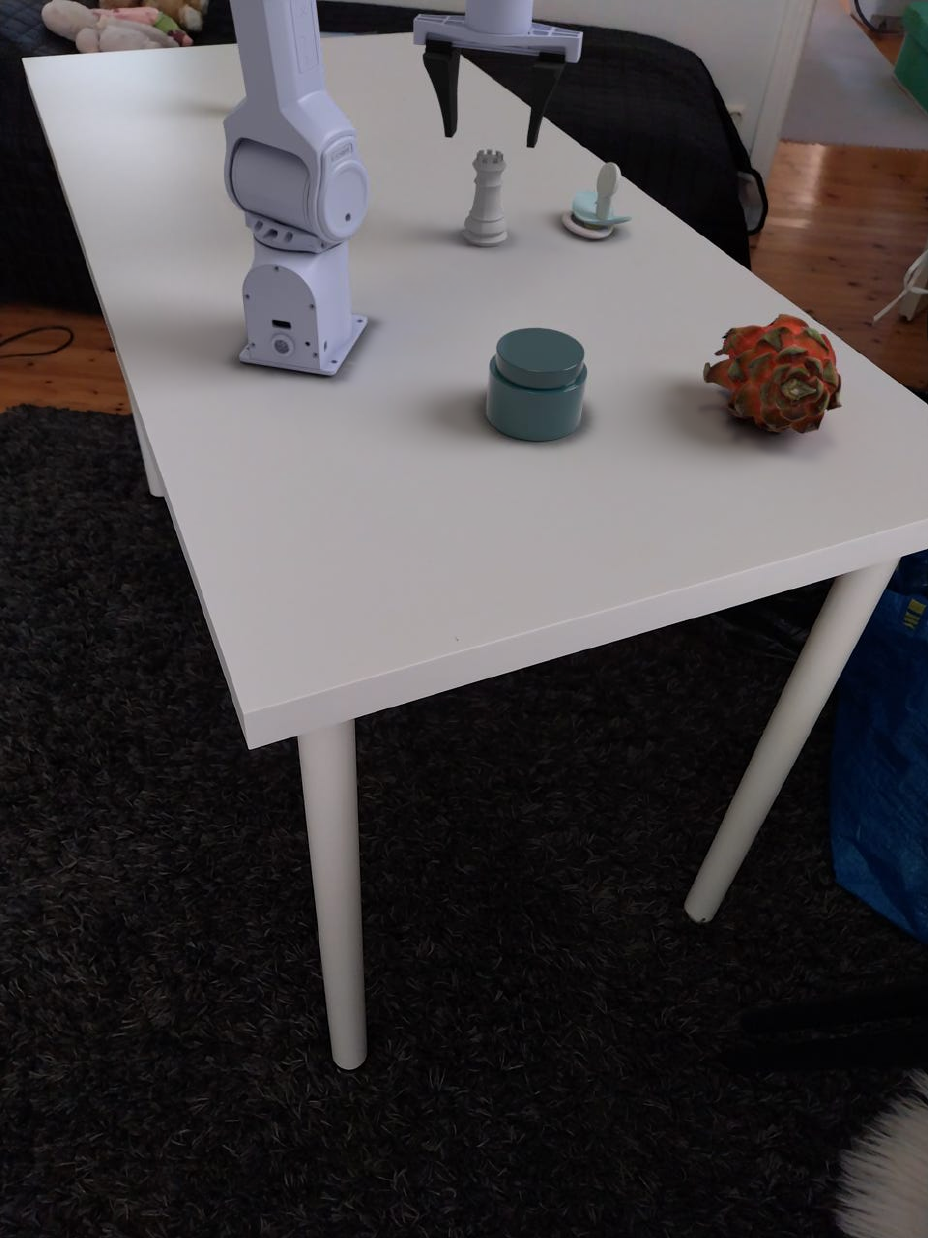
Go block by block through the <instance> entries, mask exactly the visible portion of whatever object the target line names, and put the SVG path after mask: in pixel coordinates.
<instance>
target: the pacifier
mask: <svg viewBox="0 0 928 1238" xmlns="http://www.w3.org/2000/svg"><path fill="white" fill-rule="evenodd" d="M596 179H597V180H596V191H594V190H591V189H590V190H583V191H580V192H579V193H577V194H576V195H575V196H574V197H573V200H572V203H571V209H572V210H570V211H567V212H565V213H563V215H562V217H561V221H562V223H563V225H564V226H565V227H566V228H567V229H568V230H569V231H570V232H573V233H574V234H576V235H578V236H581V237H584V238H589V239H603V238H606V237H608V236H609V235H610V234H611V233H612V232H613V229H614V225H620V224H625V223H627V222H630V221H633V216H631V215H630V216H628V215H627V216H626V215H615V214H614V208H613V206H612V205H613V198H614V197H613V196H614V195H615V193H616V192H617V191H618V189H619V188H620V185H621V181H622V173H621V169H620V167H619V166H618V165H617V164H616V163H614V162H611V161H609V162H606V163H605V164H604V165H602V166H601V168H600V171H599V173H598V175H597V178H596ZM575 219H578V221H581V222H583V223H584V227H582V226H580V225H578V224H577V223H575V222H574V221H573V220H575Z"/></svg>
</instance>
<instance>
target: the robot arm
mask: <svg viewBox="0 0 928 1238" xmlns="http://www.w3.org/2000/svg"><path fill="white" fill-rule="evenodd" d="M229 4H230V10H231V16H232V22H233V28H234V33H235V38H236V39H235V40H236V44H237V50H238V55H239V62H240V68H241V73H242V78H243V85H244V89H245V96H244V97H243V98H242V99H241V100H240V101H239V102H238V103H237V104H236V105H235V106H234V107H233V108H232V109H231V110H230V111H229V112H228V114H227V115H226V116H225V118H224V119H223V121H222V124H223V129H224V134H225V135H224V136H225V157H224V164H223V181H224V186H225V190H226V192H227V195H228V197H229V199H230V201H231V203H232V204H234V206H235V207H236V208H238V209H239V210H241V212H243V213H244V222H245V227H247V228H249V229H250V230H251V231H252V236H253V245H254V254H253V255H254V256H253V261H252V263H251V267H250V268H249V270H248V271H247V273H246V275H245V277H244V279H243V282H242V288H241V296H242V303H243V311H244V320H245V328H246V336H247V344H246V345H245V347H244V348H243V349H242V350H241V352H240V353H239V355H238V359H239V360H240V362H243V363H249V364H254V365H255V364H256V365H261V366H267V367H274V368H279V369H286V370H292V371H299V372H304V373H311V374H316V375H317V374H318V375H325V376H333V375H334V376H335V375H336V373H338V371H339V369H340V367H342V364H343V362H344V361H345V359H346V357H348V354H349V353H350V351H351V350H352V349H353V347H354V345H355V344H356V342H357V340H358V339H359V337H360V335H361V334H362V332H363V330H364V329H365V328H366V326H367V325H368V317H367V316H365V315H359V314H353V313H352V302H351V276H350V275H351V274H350V273H351V272H350V250H349V239H351V238H353V237H355V235H356V233H357V231H358V229H359V228H360V226H361V225H362V223H363V221H365V218H366V215H367V213H368V209H369V205H370V200H371V184H370V176H369V172H368V169H367V166H366V164H365V162H364V160H363V158H362V157H361V154H360V150H359V146H358V139H357V137H358V136H357V129H356V128H355V126H354V125H353V123H352V122H351V121H350V119H349V118H348V116H347V115H346V114H345V113H344V112H343V111H342V109H341V108H340V107H339V106H338V105H337V103H336V102H335V100H334V99H333V98H332V97H331V96H330V94H329V93H328V91H327V87H326V77H325V69H324V60H323V51H322V43H321V35H320V34H321V33H320V25H319V17H318V16H319V15H318V8H317V0H229ZM464 8H465V9H464V10H465V11H464V15H436V14H421V13H418V15H417V16H416V17H415V18H413V24H412V25H413V26H412V27H413V29H412V32H413V36H412V37H413V38H412V40H413V42H412V43H413V45H415V46H417V45H418V46H425V48H424V53H422V62H423V66H424V68H425V70H426V72H427V74H428V77H429V79H430V82H431V84H432V87H433V89H434V92H435V95H436V99H437V101H438V105H439V109H440V114H441V118H442V125H443V132H444V138H449V139H453V137H454V136H455V134H456V133H457V131H458V121H459V110H458V109H459V106H458V105H459V104H458V103H459V101H458V87H459V74H460V65H461V55H462V48H463V49H472V50H481V51H490V52H499V53H507V54H516V55H524V56H525V55H526V56H533V57H537V59H536V60H535V62H534V63H533V65H532V70H531V97H530V98H531V100H530V112H529V119H528V120H529V121H528V127H527V133H526V148H529V149H534V148H535V147H536V145H537V143H538V140H539V133H540V130H541V125H542V122H543V118H544V116H545V113H546V109H547V107H548V104H549V101H550V100H551V97H552V94H553V93H554V90H555V88H556V85H557V83H558V81H559V79H560V77H561V75H562V73H563V71H564V70H565V68H566V65H567V63H574V64H577V63H578V62H579V60H580V58H581V53H582V44H583V37H584V36H583V34H584V32H583V31H578V30H571V29H566V28H560V27H555V26H552V25H551V26H550V25H546V24H542V23H536V22H532V21H533V20H532V19H533V9H534V0H465V7H464Z"/></svg>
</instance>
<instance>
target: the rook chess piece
mask: <svg viewBox="0 0 928 1238" xmlns="http://www.w3.org/2000/svg"><path fill="white" fill-rule="evenodd" d="M471 165H472V167H473V169H474V171H475V173H476V175H475V177H474V178H473V183H474V184H475V191H474V195H473V196H474V197H473V201H472V206H471V209H470V210H469V211H468V215H467V216H466V217H465V219H464V223H463V226H464V227H465V229H464V230H463V231H462V235H463V237H464V238H465V240H466V241H467V242H468V243H470V244H472V245H473V246H478V247H487V248H489V247H490V248H491V247H496V246H499V245H501V244H502V243H503V242H505V240H506V239H507V238H508V236H509V235H508V232H507V231H506V230H507V229H508V220H507V219H506V217H505V212H504V211H503V208H502V201H501V188H502V186H503V184H504V180H503V178H502V174H503V172H504V171H505V170H506V168H507V163H506V161H505V159H504V153H502V151H500V150H495V153H494V154H493V149H492V148H487V149H486V154H485V150H484V149H480V150H478V152H476V158H475V159H474V160H473V161H472V164H471Z"/></svg>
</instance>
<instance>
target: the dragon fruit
mask: <svg viewBox="0 0 928 1238" xmlns="http://www.w3.org/2000/svg"><path fill="white" fill-rule="evenodd" d="M721 339H724V340H723V343H722V344H723V345H722V348H721V349H719V350H717V351H716V352H714V353H713V354H714V356H716V357H720V356H722V355H725V356H728V358H726V359H723V360H721V361H718V362H716V363H714V364H713V365H712V366H711V363H710V362H705V363H704V367H703V370H702V378H703V381H704V382H705V383H706V384H715V385H718V386H720V387H722V388H724V389H726V390H729V391H732V395H731V397H730V399H729V400H728V402H727V404H726V408H727V410H728V411H729V413H731V414H732V415H733V416H734V417H735V418H740V419H741V418H742V419H747V418H751V417H753V420H754V423H755V425H756V426H758V427H759V428H760V429H764V430H766V431H767V432H773V433H779V434H783V433H784V432H785V431H787V430H789V429H792V430H793V431H795V432H796V433H799V434H801V435H803V434H806V433H812V432H814V431H819V429H820V426H821V423H822V421H823V419H824V417H825V411H827V412H829V411H833V410H836V409H840V408H842V407H843V405H842V404H841V400H840V396H841V395H840V394H841V391H842V390H841V389H842V377H841V375H840V373H839V372H838V368H837V355H836V351H835V350H834V348H833V346H832V343H831V341H830V339H829V338H828V336H827V335H826V334H825V333H820V332H819V331H818V330H817V329H815V328H812V327H810V325H809V324H808V322H806V321H805V320H803V319H802V318H799V317H797V316H794V315H791V314H790V315H789V314H788V313H779V314H778V316H777V317H775V319H774V320H773V321H772V322H770V323H769V324H767V325H766V326H760V325H754V324H751V325H747V326H741V327H740V326H738V327H731V328H730V329H729V330H728V331H727V332H724V335H722V337H721ZM733 391H734V392H733Z"/></svg>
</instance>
